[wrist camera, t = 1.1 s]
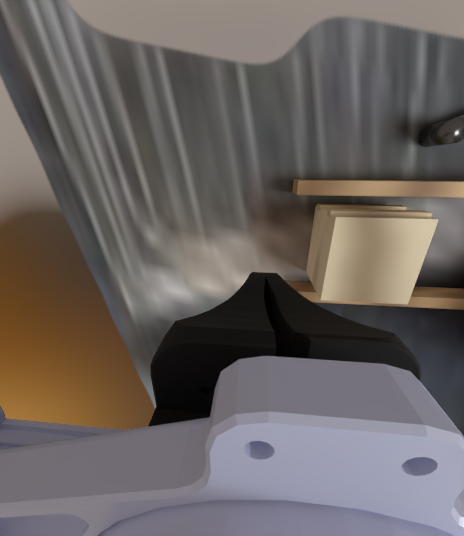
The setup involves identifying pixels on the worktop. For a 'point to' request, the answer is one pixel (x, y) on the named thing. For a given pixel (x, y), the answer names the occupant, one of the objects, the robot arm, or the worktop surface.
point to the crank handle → (443, 132)
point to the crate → (368, 252)
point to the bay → (403, 188)
